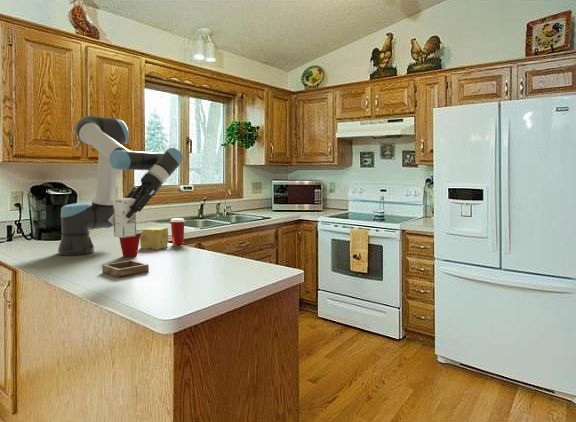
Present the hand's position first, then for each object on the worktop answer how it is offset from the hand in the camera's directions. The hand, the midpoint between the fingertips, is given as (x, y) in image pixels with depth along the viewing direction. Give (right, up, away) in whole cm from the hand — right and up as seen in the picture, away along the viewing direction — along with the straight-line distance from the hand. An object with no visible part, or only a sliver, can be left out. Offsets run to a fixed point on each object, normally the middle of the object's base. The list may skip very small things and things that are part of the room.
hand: (115, 223), depth 147 cm
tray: (+2, -19, +4) cm, 19 cm away
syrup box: (+2, -5, +3) cm, 7 cm away
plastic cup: (-9, -16, +35) cm, 40 cm away
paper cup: (+4, -14, +68) cm, 69 cm away
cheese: (-6, -15, +59) cm, 61 cm away
